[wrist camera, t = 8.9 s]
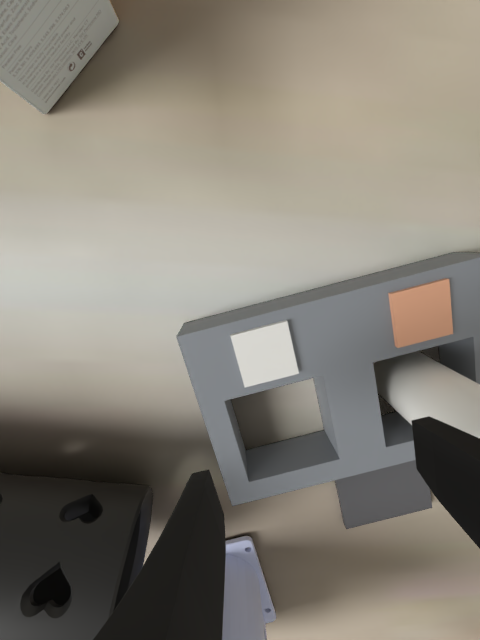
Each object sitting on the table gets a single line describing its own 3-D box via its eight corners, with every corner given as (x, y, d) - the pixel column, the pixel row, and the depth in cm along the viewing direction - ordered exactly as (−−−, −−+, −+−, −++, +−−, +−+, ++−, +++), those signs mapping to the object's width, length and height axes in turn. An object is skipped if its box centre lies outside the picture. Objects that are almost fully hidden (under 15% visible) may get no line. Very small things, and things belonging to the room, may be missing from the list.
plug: (428, 391, 21) (548, 475, 13) (375, 405, 21) (462, 497, 13) (423, 340, 20) (550, 399, 12) (367, 355, 20) (457, 423, 12)
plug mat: (427, 502, 23) (431, 507, 23) (343, 523, 23) (346, 528, 23) (419, 429, 22) (423, 433, 21) (328, 452, 22) (331, 457, 21)
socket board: (464, 412, 21) (506, 441, 18) (231, 471, 22) (232, 510, 18) (453, 252, 18) (501, 252, 15) (184, 323, 19) (175, 338, 16)
